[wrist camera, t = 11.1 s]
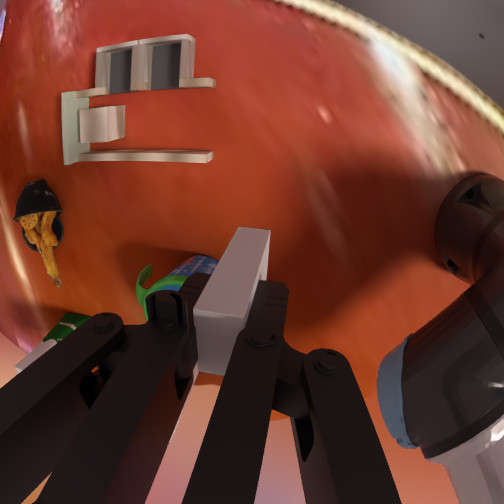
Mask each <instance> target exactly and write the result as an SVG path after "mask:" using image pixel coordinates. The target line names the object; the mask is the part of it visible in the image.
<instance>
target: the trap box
mask: <svg viewBox="0 0 504 504" xmlns="http://www.w3.org/2000/svg"><path fill="white" fill-rule="evenodd" d="M195 41H196V39H195V38H193V37H192V36H190V35H188V34H182V35H173V36H164V37H156V38H149V39H143V40H139V41H138V40H136V41H131V42H125V43H120V44H115V45H110V46H105V47H101V48H97V55H96V75H95V88H92V89H86V90H81V91H74V92H64V93H62V138H63V154H64V165H70V164H73V163H75V162H78V161H170V162H195V163H207V162H209V161H210V160H212V159H213V151H203V150H167V149H128V150H93V151H90V143H81V140H80V110H85V109H89V97H95V96H102V95H109V94H117V93H126V92H136V91H147V90H161V89H179V88H216V80H215V79H211V78H193V75H194V57H195Z"/></svg>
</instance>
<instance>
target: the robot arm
mask: <svg viewBox="0 0 504 504" xmlns="http://www.w3.org/2000/svg"><path fill="white" fill-rule="evenodd" d="M270 231H271V230H264V229H255V228H246V227H238V229H237V231H236V232H235V234H234V236H233V238H232V239H231V241H230V243H229V245H228V247H227V248H226V250H225V252H224V254H223V256H222V257H221V259H220V261H219V263H218V265H217V266H216V268H215V270H214V272H213V274H207V273H200V272H195V273H194V274H192V275H190V276H189V277H187V278H186V280H185V281H184V283H183V284H182V286H181V287H180V289H179V290H178V291H174V290H159V291H155V292H153V293H151V294H149V295H148V296H147V297H146V298H145V302H146V309H147V315H148V321H147V322H146V324H142V325H124V324H123V321H122V318H121V317H120V316H118V315H117V314H114V313H111V312H106V313H100V314H96V315H94V316H92V317H91V318H89V319H88V320H87V321H85V322H84V323H83V324H81V325H80V326H79V327H77V328H76V329H75V330H73V331H72V332H71V333H69V334H68V335H67V336H66V337H64V338H63V339H62V340H60V341H59V342H58V343H57V344H55V345H54V346H53V347H51V348H50V349H49V350H48V351H46V352H45V353H44V354H42V355H41V356H40V357H39V358H37V359H36V360H35V361H34V362H32V363H31V364H30V365H29V366H27V367H26V368H25V369H24V370H22V371H21V372H20V373H19V374H18V375H16V376H15V377H14V378H13V379H11V380H10V381H9V382H8V383H7V384H5V385H4V386H3V387H2V388H0V504H21V503H22V502H23V501H24V500H25V499H26V498H27V497H28V496H29V495H30V494H31V493H32V492H33V491H34V490H35V488H37V487H38V486H39V484H41V482H42V481H43V480H44V479H45V478H46V477H47V476H48V475H49V474H50V473H51V472H52V471H53V472H52V473H51V475H50V477H49V479H48V480H47V482H46V484H45V486H44V488H43V490H42V491H41V493H40V495H39V497H38V498H37V500H36V501H35V502H34V503H32V504H145V501H146V499H147V496H148V494H149V491H150V489H151V486H152V483H153V481H154V479H155V476H156V474H157V471H158V469H159V466H160V464H161V461H162V459H163V456H164V454H165V451H166V449H167V446H168V444H169V441H170V439H171V436H172V434H173V431H174V429H175V426H176V424H177V421H178V419H179V417H180V414H181V412H182V409H183V407H184V404H185V402H186V399H187V397H188V394H189V392H190V389H191V387H192V384H193V380H194V374H193V370H194V367H195V365H196V363H197V365H198V371H200V372H205V373H210V374H215V375H220V376H224V378H223V381H222V384H221V387H220V390H219V393H218V397H217V399H216V403H215V406H214V409H213V412H212V415H211V418H210V421H209V424H208V427H207V430H206V433H205V436H204V439H203V442H202V445H201V448H200V451H199V454H198V457H197V460H196V463H195V466H194V469H193V471H192V474H191V478H190V480H189V483H188V486H187V489H186V492H185V495H184V498H183V501H182V504H254V500H255V495H256V491H257V485H258V481H259V475H260V470H261V465H262V460H263V455H264V448H265V444H266V438H267V432H268V427H269V421H270V415H271V410H272V409H273V410H276V411H278V412H280V413H283V414H285V415H287V416H290V420H291V425H292V431H293V436H294V441H295V447H296V452H297V457H298V463H299V468H300V474H301V479H302V485H303V490H304V495H305V500H306V504H402V503H401V500H400V497H399V494H398V491H397V488H396V485H395V483H394V480H393V477H392V474H391V471H390V468H389V465H388V463H387V460H386V457H385V454H384V451H383V449H382V446H381V444H380V441H379V438H378V435H377V433H376V430H375V427H374V425H373V422H372V419H371V417H370V414H369V412H368V409H367V406H366V404H365V401H364V399H363V396H362V393H361V391H360V388H359V386H358V383H357V381H356V378H355V376H354V373H353V371H352V368H351V366H350V364H349V362H348V360H347V359H346V357H345V356H344V355H342V354H341V353H339V352H337V351H335V350H332V349H324V348H321V349H316V350H313V351H311V352H309V353H308V354H307V355H306V354H304V353H301V352H299V351H297V350H295V349H293V348H292V347H290V346H289V345H288V344H287V343H286V341H285V339H284V336H283V331H284V324H285V317H286V309H287V301H288V294H289V290H288V288H287V287H286V285H285V283H281V282H273V281H266V278H267V266H268V255H269V243H270ZM435 244H436V248H437V252H438V254H439V256H440V258H441V260H442V262H443V263H444V264H445V266H446V267H447V268H448V270H449V271H450V272H451V273H452V274H453V275H454V276H456V277H457V278H459V279H461V280H463V281H465V282H467V283H469V284H471V285H472V286H470V287H469V288H468V289H467V290H466V291H465V292H464V293H462V294H461V295H460V296H459V297H458V298H457V299H456V300H455V301H453V302H452V303H451V304H450V305H449V306H448V307H446V308H445V309H444V310H443V311H442V312H440V313H439V314H438V315H437V316H435V317H434V318H433V319H432V320H430V321H429V322H428V323H427V324H425V325H424V326H423V327H421V328H420V329H419V330H417V331H416V332H415V333H413V334H412V333H411V334H409V335H408V336H407V337H406V338H405V339H404V341H403V342H402V343H401V344H399V345H398V346H397V347H396V348H394V349H393V350H392V351H391V352H389V353H388V354H387V355H386V356H385V357H384V358H383V360H382V362H381V363H380V366H379V370H378V377H377V396H378V402H379V407H380V410H381V413H382V417H383V420H384V422H385V425H386V427H387V429H388V431H389V433H390V434H391V436H392V437H393V438H396V441H397V443H398V444H399V445H400V446H401V447H403V448H406V449H411V448H414V449H415V448H417V447H420V448H421V450H422V453H423V455H424V457H425V459H426V461H429V462H433V463H437V464H441V465H443V466H445V469H446V471H447V474H448V476H449V478H450V481H451V483H452V486H453V488H454V491H455V493H456V496H457V498H458V501H459V503H460V504H504V180H502V179H500V178H498V177H496V176H493V175H488V174H479V175H474V176H471V177H469V178H466V179H465V180H463V181H461V182H460V183H459V184H457V185H456V186H455V187H454V188H453V189H452V190H451V192H450V193H449V194H448V195H447V197H446V198H445V200H444V202H443V204H442V206H441V208H440V210H439V213H438V216H437V220H436V225H435ZM96 366H97V367H98V370H97V371H95V372H91V371H92V370H93V369H94V368H95V367H96Z"/></svg>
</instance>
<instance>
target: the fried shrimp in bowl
mask: <svg viewBox="0 0 504 504" xmlns="http://www.w3.org/2000/svg"><path fill="white" fill-rule="evenodd" d="M61 213H63V210H62V209H61V208H60V206H59V202H58V199H57V197H56V196H55V194H54V193H53V192H52V191H51V190H50V189H49V188H48V187H47V182H46V181H45V180H39V181H35V182H31V183H28V184H26V185H25V188H24V190H23V192H22V193H21V195H20V197H19V200H18V202H17V205H16V215H15V217H14V219H13V220H14V222H21V224H22V226H23V229H22V235H23V239H24V241H25V243H26V244H27V245H28V246H29V247H30V248H31V249H32V250H34V251H36V252H39V253H40V254H41V256H42V258H43V261H44V264H45V267H46V269H47V273H48V274H49V275H50V277H51V278H52V280H53V283H54V284H55V286H57V287H61V281H60V272H59V271H58V265H57V263H56V260H55V257H54V252H53V250H54V249H55V248H56V247H57V246H58V245H59V244H60V242H61V240H62V238H63V234H64V229H63V224H62V222H61V219H60V217H59V214H61Z"/></svg>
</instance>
